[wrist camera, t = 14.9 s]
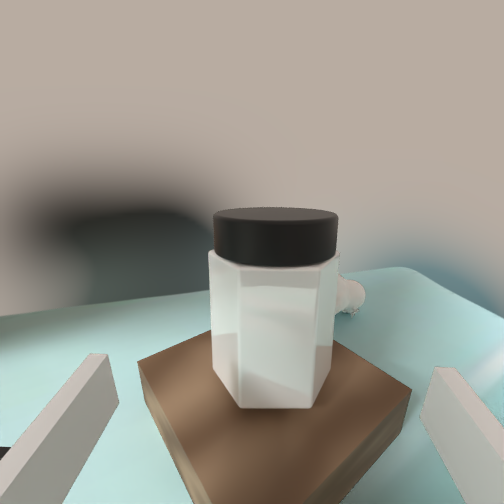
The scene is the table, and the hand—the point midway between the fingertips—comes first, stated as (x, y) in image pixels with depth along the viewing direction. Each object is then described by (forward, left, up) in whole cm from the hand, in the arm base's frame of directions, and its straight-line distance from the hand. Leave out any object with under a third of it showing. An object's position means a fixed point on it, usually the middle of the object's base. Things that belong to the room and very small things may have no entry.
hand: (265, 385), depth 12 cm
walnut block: (-6, +5, -12) cm, 15 cm away
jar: (-6, +5, -7) cm, 11 cm away
